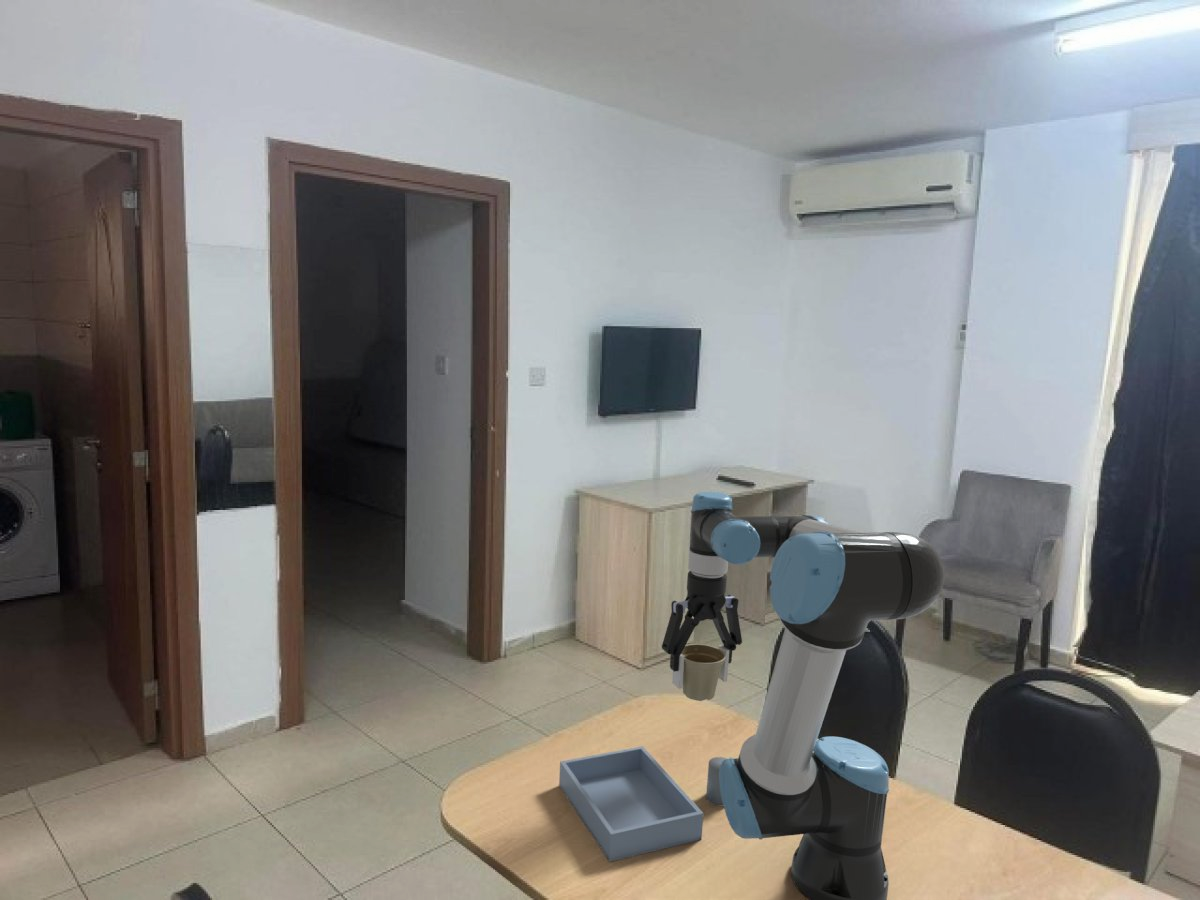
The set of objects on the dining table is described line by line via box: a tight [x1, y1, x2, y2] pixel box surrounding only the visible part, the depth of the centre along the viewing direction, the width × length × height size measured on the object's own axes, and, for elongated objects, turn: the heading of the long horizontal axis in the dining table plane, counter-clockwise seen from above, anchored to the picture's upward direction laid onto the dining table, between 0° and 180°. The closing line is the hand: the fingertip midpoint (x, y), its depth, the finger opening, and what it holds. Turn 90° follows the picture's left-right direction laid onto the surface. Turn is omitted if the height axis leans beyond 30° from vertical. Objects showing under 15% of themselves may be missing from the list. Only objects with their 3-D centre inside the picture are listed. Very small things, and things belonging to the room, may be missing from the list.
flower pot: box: [681, 643, 726, 702], centre depth 162 cm, size 9×9×9 cm
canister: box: [705, 756, 728, 807], centre depth 156 cm, size 5×5×7 cm
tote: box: [558, 746, 704, 862], centre depth 150 cm, size 24×18×5 cm
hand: (699, 682), depth 162 cm, fingers closed on flower pot, 9 cm apart
